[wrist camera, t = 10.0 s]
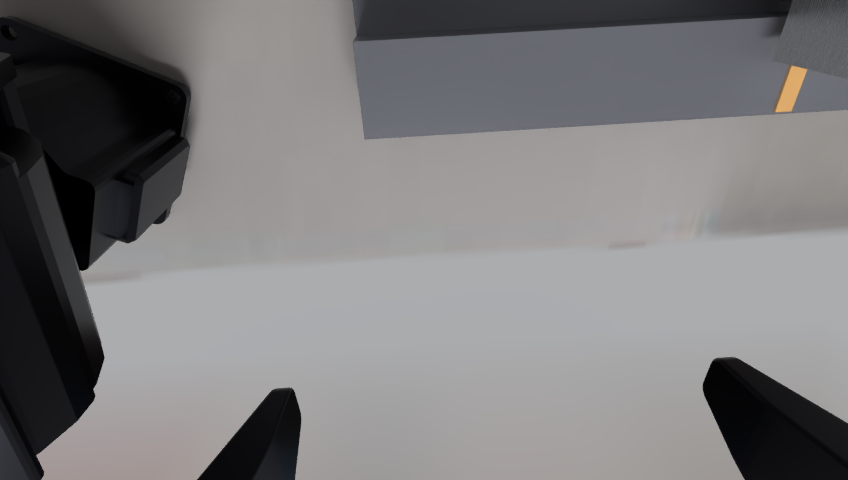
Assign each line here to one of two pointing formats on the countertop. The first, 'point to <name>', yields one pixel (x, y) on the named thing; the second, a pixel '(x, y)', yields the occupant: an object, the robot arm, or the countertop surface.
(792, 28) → the fader tab
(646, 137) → the countertop surface
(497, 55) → the fader console
